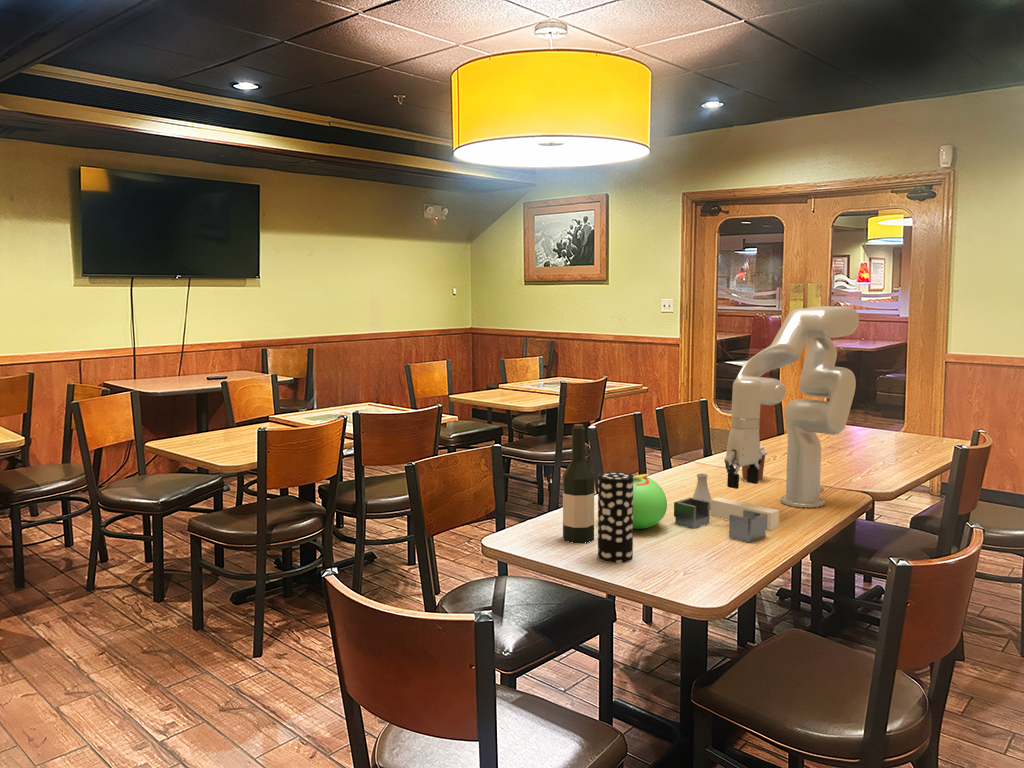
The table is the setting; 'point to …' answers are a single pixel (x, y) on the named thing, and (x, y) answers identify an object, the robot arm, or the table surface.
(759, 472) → the coffee cup
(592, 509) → the wine bottle
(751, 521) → the bracket
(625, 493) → the white-spotted black cylinder
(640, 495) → the toy bird
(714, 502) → the rail
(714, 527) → the table surface
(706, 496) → the flask
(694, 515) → the bracket
